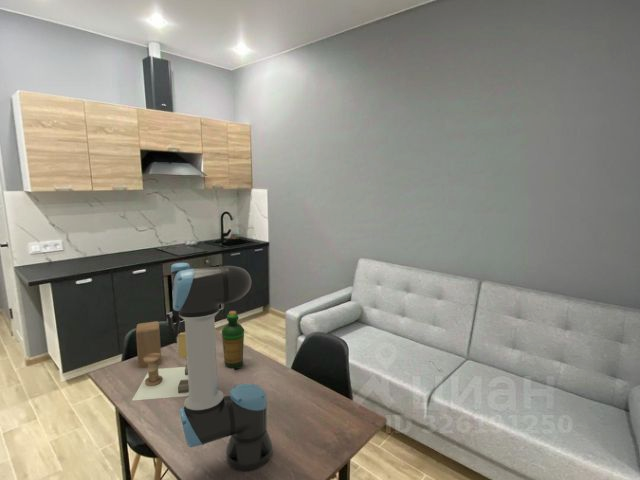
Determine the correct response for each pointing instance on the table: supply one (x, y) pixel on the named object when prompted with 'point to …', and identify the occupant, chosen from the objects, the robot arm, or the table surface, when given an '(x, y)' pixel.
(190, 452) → the table surface
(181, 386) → the notch board
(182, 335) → the yellow rectangular block
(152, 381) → the bobbin
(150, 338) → the wooden block
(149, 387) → the board
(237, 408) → the robot arm
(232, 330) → the bottle
